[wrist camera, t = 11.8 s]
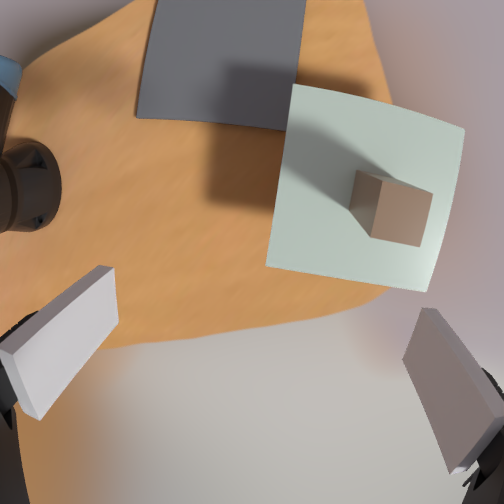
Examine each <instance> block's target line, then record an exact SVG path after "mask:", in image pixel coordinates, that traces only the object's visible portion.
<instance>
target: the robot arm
mask: <svg viewBox="0 0 504 504" xmlns="http://www.w3.org/2000/svg"><path fill="white" fill-rule="evenodd" d="M21 78H22V68H21V66H20V65H19V64H18V63H17V62H15V61H13V60H11V59H9V58H7V57H4V56H1V55H0V233H3V232H5V231H20V232H33V231H36V230H39V229H41V228H43V227H45V226H47V225H48V224H49V223H50V222H51V221H52V220H53V218H54V217H55V215H56V213H57V211H58V208H59V205H60V200H61V190H62V187H61V176H60V171H59V167H58V164H57V162H56V160H55V158H54V156H53V154H52V153H51V152H50V150H49V149H48V148H47V147H45V146H44V145H42V144H40V143H37V142H29V143H22V144H19V145H16V146H15V147H13V148H11V149H10V150H8V151H6V152H5V153H3V154H2V152H3V147H4V143H5V138H6V134H7V130H8V125H9V122H10V118H11V114H12V110H13V107H14V103H15V101H16V100H17V92H18V88H19V84H20V81H21ZM118 323H119V320H118V311H117V301H116V289H115V276H114V268H113V267H107V266H102V265H99V266H97V267H96V268H94V269H93V270H92V271H90V272H89V273H88V274H86V275H85V276H84V277H82V278H81V279H80V280H78V281H77V282H76V283H74V284H73V285H72V286H70V287H69V288H68V289H66V290H65V291H64V292H63V293H61V294H60V295H59V296H57V297H56V298H55V299H54V300H52V301H51V302H50V303H48V304H47V305H46V306H45V307H43V308H42V309H41V310H40V311H36V312H34V313H31V314H29V315H27V316H25V317H24V318H23V319H22V320H20V321H19V322H18V324H16V325H14V326H13V327H12V328H11V330H8V331H7V332H6V333H5V334H3V335H2V336H1V337H0V504H30V502H29V498H28V493H27V489H26V484H25V479H24V473H23V468H22V462H21V455H20V448H19V440H18V432H17V421H16V412H15V409H14V407H13V405H14V404H15V403H16V402H17V401H19V404H20V406H21V407H22V410H23V411H24V412H25V413H26V414H28V415H30V416H32V417H34V418H36V419H38V420H41V419H42V417H43V416H44V415H45V413H46V412H47V411H48V410H49V408H50V406H52V404H53V403H54V402H55V400H56V399H57V398H58V396H59V395H60V394H61V393H62V391H63V390H64V389H65V388H66V386H67V385H68V384H69V383H70V381H71V380H72V379H73V377H74V376H75V375H76V374H77V372H78V371H79V370H80V369H81V368H82V366H83V365H84V364H85V363H86V361H87V360H88V359H89V357H91V355H92V354H93V353H94V352H95V350H96V349H97V348H98V347H99V346H100V344H101V343H102V342H103V341H104V340H105V338H106V337H107V336H108V335H109V334H110V332H111V331H112V330H113V329H114V328H115V327H116V325H117V324H118ZM402 360H403V362H404V364H405V367H406V368H407V371H408V373H409V376H410V378H411V380H412V382H413V384H414V386H415V389H416V391H417V393H418V395H419V397H420V400H421V403H422V405H423V407H424V409H425V412H426V415H427V417H428V419H429V422H430V424H431V427H432V429H433V432H434V434H435V437H436V439H437V442H438V445H439V447H440V450H441V452H442V455H443V458H444V460H445V463H446V466H447V468H448V472H449V474H455V473H459V472H464V471H467V470H468V469H469V468H470V467H471V465H472V464H473V463H474V462H475V461H476V460H477V462H478V464H479V468H477V470H476V471H475V472H474V473H473V474H472V475H471V476H470V477H469V478H468V479H467V480H466V481H465V482H464V484H463V485H462V486H463V487H465V486H466V485H467V484H468V483H469V482H470V485H469V487H468V490H467V493H466V495H465V498H464V500H463V502H462V504H504V393H502V390H501V388H500V387H499V386H498V384H497V382H496V381H495V379H494V378H493V377H492V375H490V374H489V373H488V372H487V371H486V370H484V369H483V368H481V367H480V366H479V364H478V363H477V361H476V360H475V359H474V357H473V356H472V355H471V353H470V352H469V351H468V349H467V348H466V346H465V345H464V344H463V342H462V341H461V340H460V338H459V337H458V336H457V335H456V333H455V332H454V331H453V329H452V328H451V327H450V325H449V324H448V323H447V322H446V320H445V319H444V318H443V317H442V315H441V314H440V313H439V311H438V310H437V309H432V308H422V309H421V312H420V315H419V318H418V321H417V323H416V326H415V329H414V331H413V334H412V337H411V340H410V342H409V344H408V347H407V349H406V352H405V354H404V357H403V359H402Z"/></svg>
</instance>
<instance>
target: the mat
mask: <svg viewBox="0 0 504 504" xmlns="http://www.w3.org/2000/svg"><path fill="white" fill-rule="evenodd" d="M305 6H306V0H158V4H157V8H156V12H155V16H154V21H153V25H152V29H151V34H150V39H149V43H148V48H147V53H146V59H145V64H144V70H143V76H142V82H141V88H140V94H139V101H138V109H137V116H136V118H139V119H168V120H186V121H200V122H212V123H223V124H233V125H242V126H251V127H259V128H266V129H273V130H280V131H286V130H287V123H288V116H289V109H290V103H291V96H292V88H293V84H295V82H296V75H297V68H298V60H299V53H300V45H301V38H302V30H303V22H304V14H305Z"/></svg>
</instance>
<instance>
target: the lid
mask: <svg viewBox="0 0 504 504" xmlns="http://www.w3.org/2000/svg"><path fill="white" fill-rule="evenodd" d="M464 134H465V129H462V128H460V127H457V126H455V125H452V124H449V123H446V122H444V121H441V120H438V119H435V118H433V117H430V116H426V115H424V114H420V113H417V112H414V111H411V110H408V109H404V108H401V107H397V106H394V105H391V104H387V103H383V102H379V101H376V100H372V99H368V98H364V97H359V96H355V95H351V94H346V93H342V92H337V91H332V90H327V89H321V88H316V87H310V86H304V85H298V84H293V88H292V96H291V103H290V109H289V116H288V123H287V130H286V137H285V144H284V150H283V157H282V164H281V170H280V177H279V183H278V190H277V196H276V203H275V209H274V216H273V222H272V228H271V235H270V241H269V247H268V253H267V260H266V266H268V267H274V268H280V269H286V270H292V271H298V272H304V273H310V274H316V275H322V276H328V277H334V278H340V279H347V280H353V281H359V282H365V283H371V284H378V285H384V286H390V287H396V288H403V289H410V290H415V291H422V292H426V291H427V288H428V285H429V282H430V280H431V277H432V273H433V270H434V267H435V264H436V261H437V257H438V254H439V251H440V247H441V244H442V241H443V237H444V233H445V230H446V226H447V222H448V218H449V213H450V209H451V205H452V201H453V197H454V192H455V187H456V182H457V177H458V172H459V166H460V160H461V154H462V148H463V141H464Z"/></svg>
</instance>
